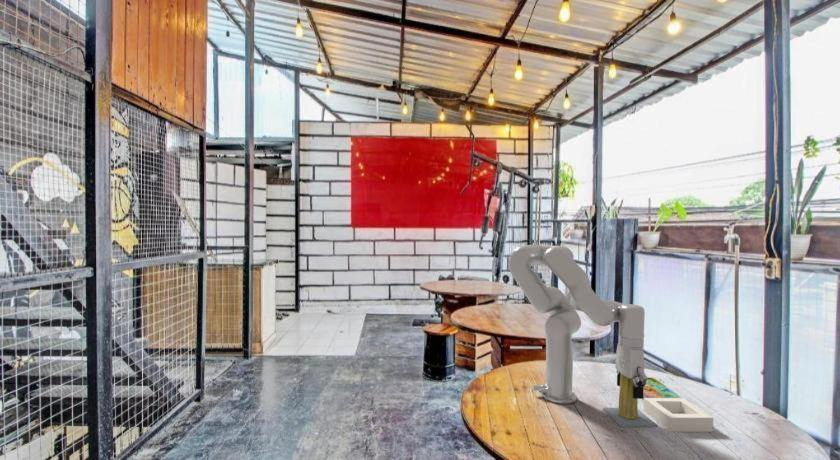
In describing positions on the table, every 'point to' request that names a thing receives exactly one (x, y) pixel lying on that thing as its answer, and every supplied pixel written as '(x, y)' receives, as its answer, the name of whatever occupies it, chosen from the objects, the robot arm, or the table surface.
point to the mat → (623, 422)
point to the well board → (678, 415)
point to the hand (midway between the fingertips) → (629, 391)
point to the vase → (627, 399)
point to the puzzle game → (657, 390)
